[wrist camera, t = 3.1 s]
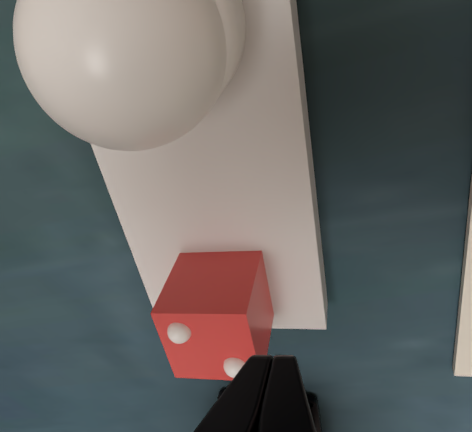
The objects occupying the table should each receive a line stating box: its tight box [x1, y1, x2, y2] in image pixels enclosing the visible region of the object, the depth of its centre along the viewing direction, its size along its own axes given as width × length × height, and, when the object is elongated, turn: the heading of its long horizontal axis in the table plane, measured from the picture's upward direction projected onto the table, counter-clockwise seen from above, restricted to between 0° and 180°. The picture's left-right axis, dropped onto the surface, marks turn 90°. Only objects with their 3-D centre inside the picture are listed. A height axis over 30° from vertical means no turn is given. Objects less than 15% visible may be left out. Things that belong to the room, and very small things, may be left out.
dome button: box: [13, 0, 246, 151], centre depth 14 cm, size 6×6×8 cm
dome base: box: [91, 0, 328, 380], centre depth 18 cm, size 18×9×6 cm, turn 11°
